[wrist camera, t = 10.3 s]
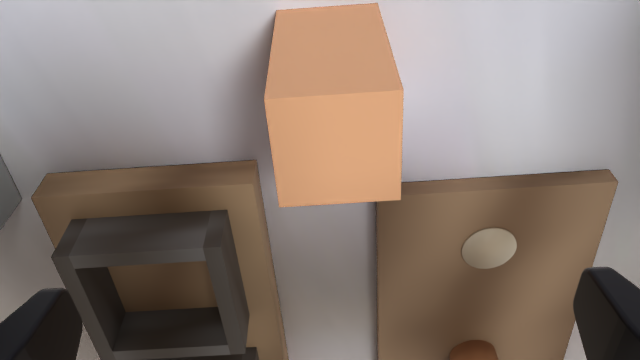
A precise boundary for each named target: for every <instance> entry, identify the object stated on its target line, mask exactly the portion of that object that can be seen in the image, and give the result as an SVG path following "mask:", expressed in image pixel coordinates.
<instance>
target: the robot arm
mask: <svg viewBox="0 0 640 360" xmlns="http://www.w3.org/2000/svg"><path fill="white" fill-rule="evenodd" d="M573 311H574V315H575V319H576V322H577V326H578V329H579V333H580V337H581V340H582V344H583V347H584V351H585V354H586V358H587V360H640V289H639V288H638V287H636V286H635V285H634V284H632V283H631V282H630V281H628V280H627V279H626V278H624V277H623V276H622V275H620V274H619V273H618V272H616V271H615V270H614V269H612V268H610V267H589V268H586V269H584V270H583V272H582V274H581V277H580V280H579V283H578V286H577V289H576V293H575V296H574V300H573ZM82 327H83V325H82V318H81V316H80V314H79V311H78V309H77V307H76V305H75V303H74V301H73V299H72V297H71V295H70V293H69V291H68V290H66V289H64V288H53V289H43V290H41V291H39V292H38V293H36V294H35V295H34V296H33V297H31V298H30V299H29V300H28V301H27V302H25V303H24V304H23V305H22V306H21V307H19V308H18V309H17V310H16V311H15V312H13V313H12V314H11V315H10V316H9V317H7V318H6V319H5V320H4V321H3V322H1V323H0V360H76V356H77V352H78V347H79V343H80V338H81V334H82Z"/></svg>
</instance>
